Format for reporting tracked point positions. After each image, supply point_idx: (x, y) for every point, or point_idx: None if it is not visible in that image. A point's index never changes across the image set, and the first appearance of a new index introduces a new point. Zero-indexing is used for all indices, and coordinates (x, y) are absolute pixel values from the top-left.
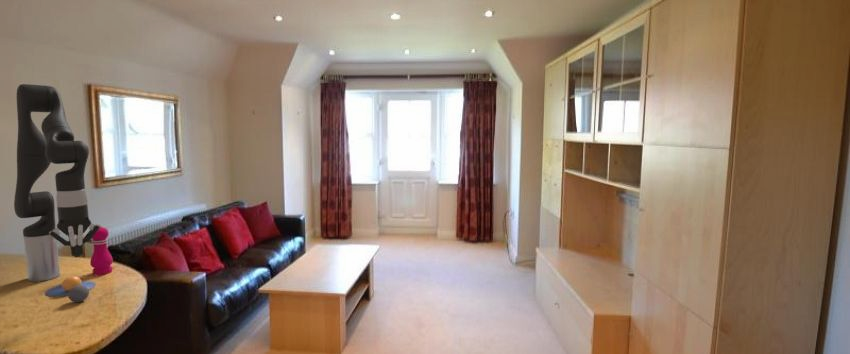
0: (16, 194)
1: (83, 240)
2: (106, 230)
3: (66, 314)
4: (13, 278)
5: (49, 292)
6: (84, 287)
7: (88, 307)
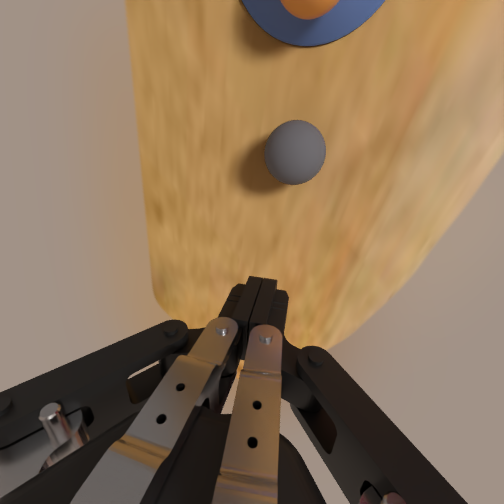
0: None
1: (286, 392)
2: None
3: (248, 230)
4: None
5: None
6: (309, 170)
7: (299, 223)
